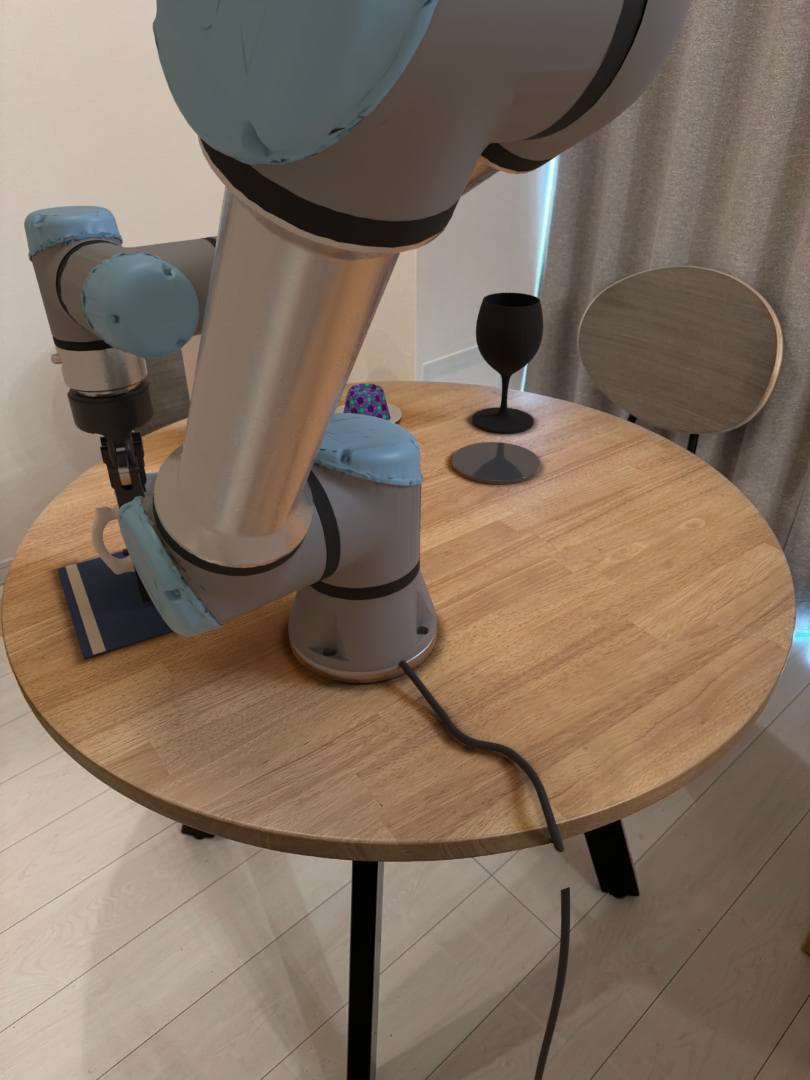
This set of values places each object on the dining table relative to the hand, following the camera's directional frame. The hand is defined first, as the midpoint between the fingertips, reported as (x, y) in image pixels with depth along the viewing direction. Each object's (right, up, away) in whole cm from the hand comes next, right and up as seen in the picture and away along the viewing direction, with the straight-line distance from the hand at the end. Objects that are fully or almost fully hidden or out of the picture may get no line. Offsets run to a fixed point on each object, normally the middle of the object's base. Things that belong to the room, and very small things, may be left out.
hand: (153, 580), depth 83 cm
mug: (0, -1, 0) cm, 1 cm away
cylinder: (+2, +19, +32) cm, 38 cm away
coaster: (+42, +16, +27) cm, 52 cm away
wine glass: (+45, +24, +40) cm, 65 cm away
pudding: (+22, +25, +42) cm, 53 cm away
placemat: (0, -1, +1) cm, 1 cm away
